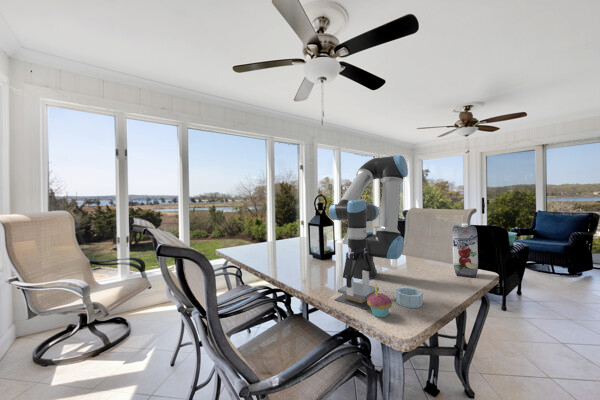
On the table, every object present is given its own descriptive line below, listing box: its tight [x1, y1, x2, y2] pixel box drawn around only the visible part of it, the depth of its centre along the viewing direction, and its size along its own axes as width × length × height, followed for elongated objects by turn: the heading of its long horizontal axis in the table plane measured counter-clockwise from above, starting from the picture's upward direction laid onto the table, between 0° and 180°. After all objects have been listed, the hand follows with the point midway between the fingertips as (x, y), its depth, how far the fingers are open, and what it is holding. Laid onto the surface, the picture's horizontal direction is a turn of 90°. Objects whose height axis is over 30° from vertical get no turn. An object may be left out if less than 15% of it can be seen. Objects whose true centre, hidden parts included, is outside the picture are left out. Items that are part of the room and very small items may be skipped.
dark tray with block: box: [334, 294, 371, 311], centre depth 103 cm, size 14×14×3 cm
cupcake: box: [367, 282, 393, 318], centre depth 89 cm, size 9×8×12 cm
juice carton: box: [452, 223, 479, 278], centre depth 131 cm, size 9×10×27 cm
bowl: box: [395, 286, 424, 309], centre depth 98 cm, size 9×9×4 cm
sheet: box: [337, 281, 380, 300], centre depth 103 cm, size 12×12×1 cm
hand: (358, 290), depth 103 cm, fingers closed on sheet, 12 cm apart
